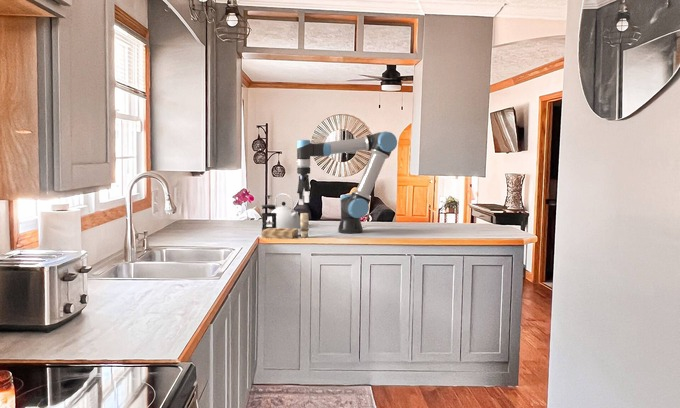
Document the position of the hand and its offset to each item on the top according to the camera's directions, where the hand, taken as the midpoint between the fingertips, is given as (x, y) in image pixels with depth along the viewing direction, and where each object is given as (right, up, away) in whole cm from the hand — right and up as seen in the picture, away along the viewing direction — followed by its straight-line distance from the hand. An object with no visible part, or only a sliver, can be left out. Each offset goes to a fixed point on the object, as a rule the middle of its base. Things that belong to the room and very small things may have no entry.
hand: (303, 203), depth 322 cm
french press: (-22, -18, +17) cm, 33 cm away
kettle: (-15, -16, +43) cm, 49 cm away
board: (-14, -19, +5) cm, 25 cm away
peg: (0, -20, +2) cm, 20 cm away
